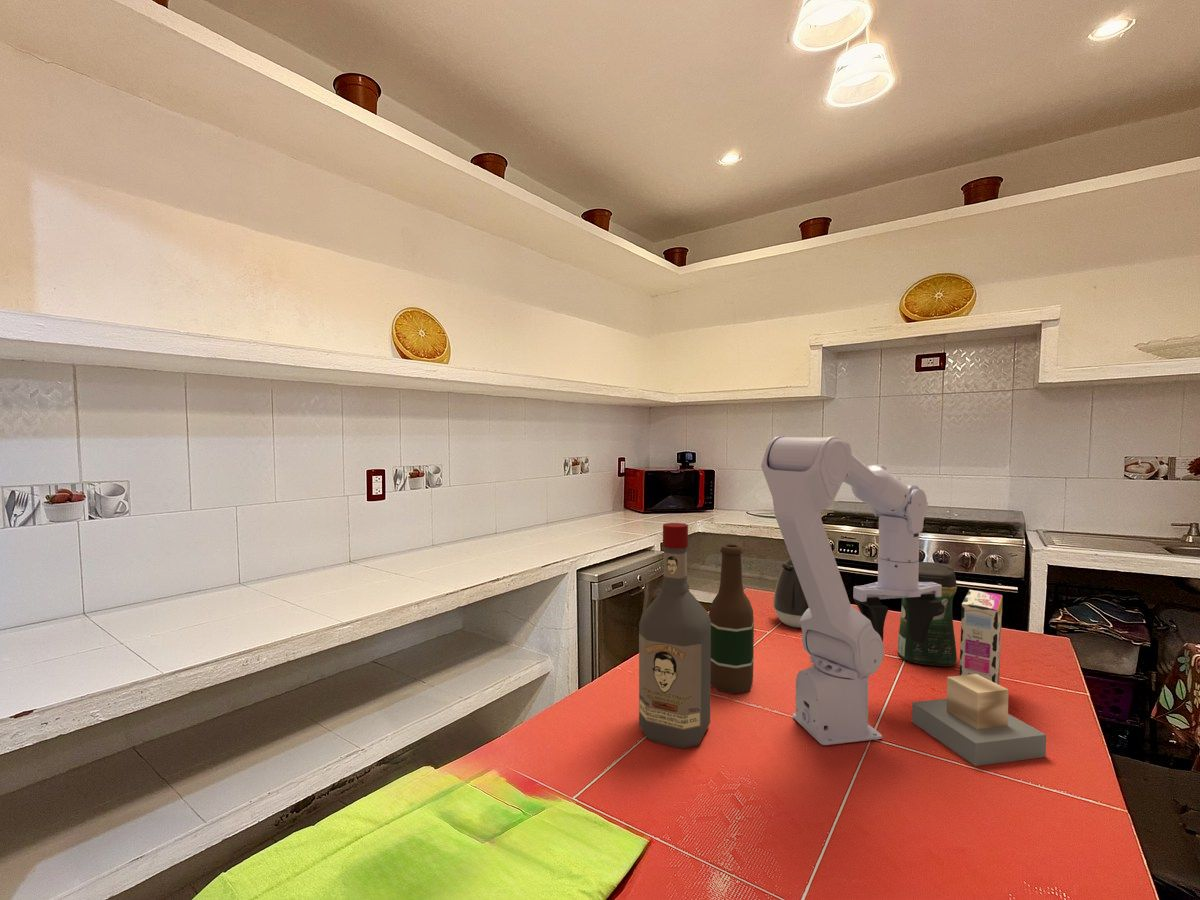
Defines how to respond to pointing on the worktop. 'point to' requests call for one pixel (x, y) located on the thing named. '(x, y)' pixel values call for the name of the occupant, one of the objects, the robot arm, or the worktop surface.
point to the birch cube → (977, 701)
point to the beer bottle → (731, 628)
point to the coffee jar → (932, 622)
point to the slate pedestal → (979, 735)
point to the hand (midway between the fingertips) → (896, 642)
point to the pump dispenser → (789, 596)
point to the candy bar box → (981, 635)
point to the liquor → (675, 654)
